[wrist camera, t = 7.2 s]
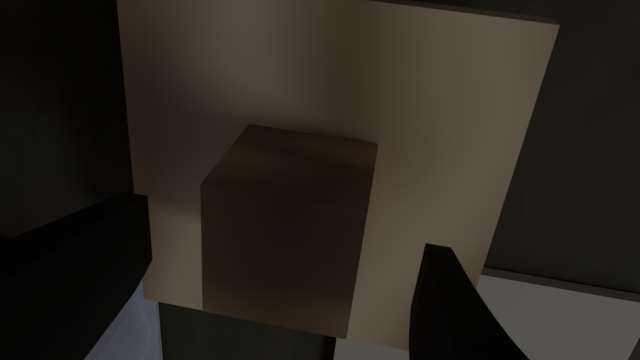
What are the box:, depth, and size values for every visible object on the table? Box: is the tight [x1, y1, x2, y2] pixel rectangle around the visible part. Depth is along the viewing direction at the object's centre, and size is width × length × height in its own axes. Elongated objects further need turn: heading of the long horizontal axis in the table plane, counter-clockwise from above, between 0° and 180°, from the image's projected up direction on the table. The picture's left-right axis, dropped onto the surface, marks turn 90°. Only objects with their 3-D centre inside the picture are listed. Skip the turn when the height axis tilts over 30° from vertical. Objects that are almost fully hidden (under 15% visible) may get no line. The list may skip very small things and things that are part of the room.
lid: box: [117, 0, 560, 351], centre depth 15 cm, size 12×12×5 cm
